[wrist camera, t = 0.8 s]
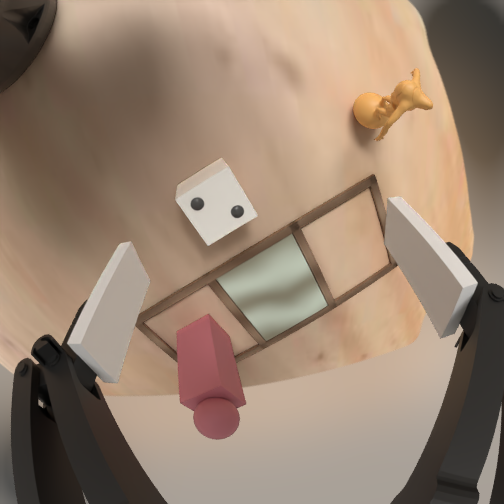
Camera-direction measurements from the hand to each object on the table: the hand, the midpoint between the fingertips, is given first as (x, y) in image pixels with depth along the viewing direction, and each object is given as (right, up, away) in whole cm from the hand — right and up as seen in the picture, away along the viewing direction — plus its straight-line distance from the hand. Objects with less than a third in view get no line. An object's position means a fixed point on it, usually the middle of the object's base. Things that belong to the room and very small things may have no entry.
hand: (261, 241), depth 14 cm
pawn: (-7, -11, +22) cm, 25 cm away
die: (-4, +5, +13) cm, 15 cm away
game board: (+3, -6, +21) cm, 22 cm away
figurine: (+11, +15, +12) cm, 22 cm away
